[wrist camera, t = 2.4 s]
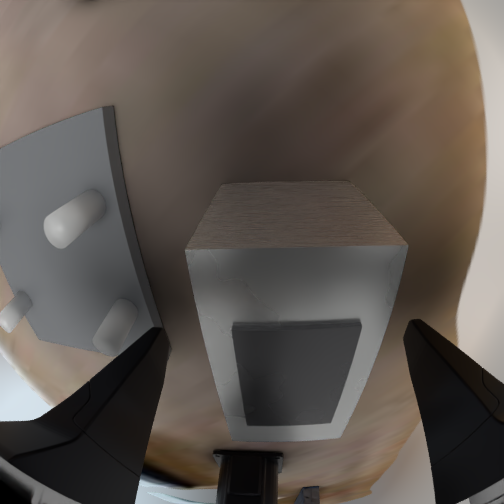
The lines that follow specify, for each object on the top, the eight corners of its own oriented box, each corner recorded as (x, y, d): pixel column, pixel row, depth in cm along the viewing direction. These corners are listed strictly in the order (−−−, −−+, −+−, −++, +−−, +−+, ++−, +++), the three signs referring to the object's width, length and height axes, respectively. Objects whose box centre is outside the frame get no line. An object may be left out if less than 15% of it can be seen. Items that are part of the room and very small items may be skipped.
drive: (327, 353, 14) (340, 440, 9) (241, 355, 14) (232, 443, 10) (348, 180, 9) (411, 248, 5) (222, 182, 10) (182, 254, 5)
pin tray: (171, 350, 14) (155, 398, 11) (44, 331, 15) (22, 363, 12) (113, 106, 8) (58, 113, 5) (-20, 161, 9) (-60, 180, 6)
